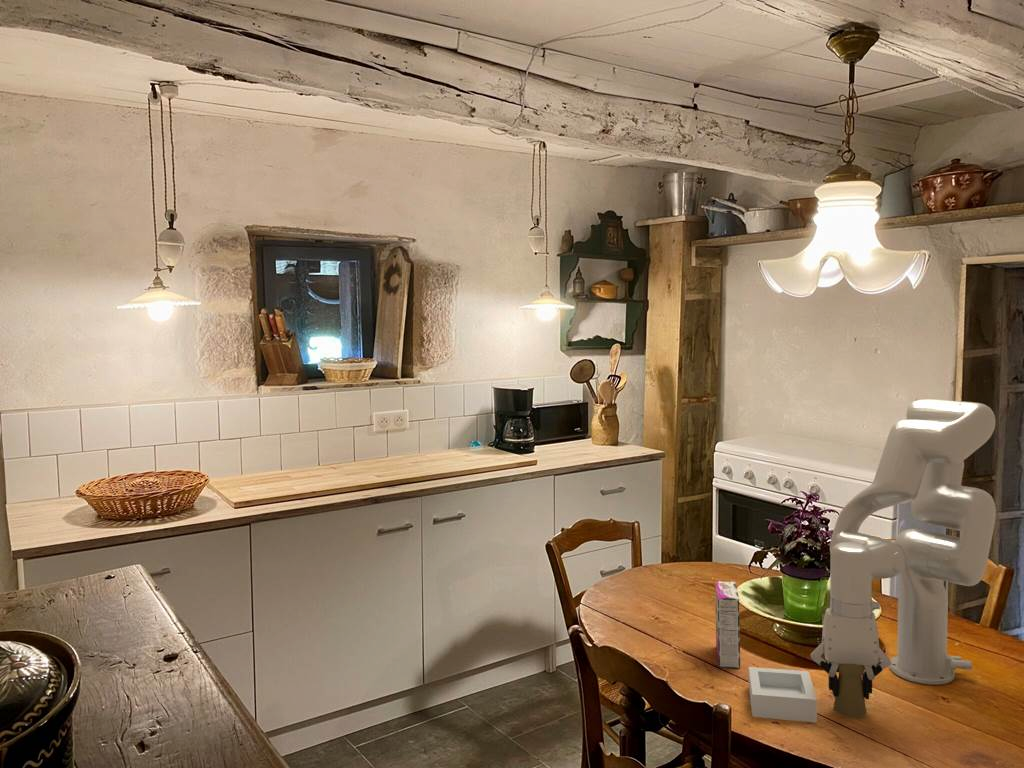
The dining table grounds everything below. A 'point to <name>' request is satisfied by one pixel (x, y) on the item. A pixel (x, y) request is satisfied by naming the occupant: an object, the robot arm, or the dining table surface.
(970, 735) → the dining table surface
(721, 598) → the candy bar box
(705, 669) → the dining table surface
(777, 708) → the open box
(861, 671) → the cork
